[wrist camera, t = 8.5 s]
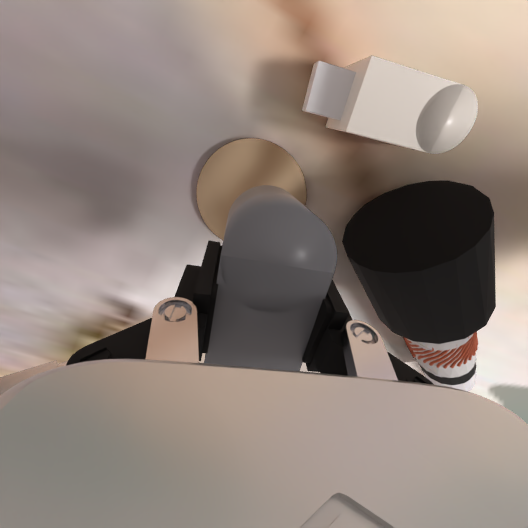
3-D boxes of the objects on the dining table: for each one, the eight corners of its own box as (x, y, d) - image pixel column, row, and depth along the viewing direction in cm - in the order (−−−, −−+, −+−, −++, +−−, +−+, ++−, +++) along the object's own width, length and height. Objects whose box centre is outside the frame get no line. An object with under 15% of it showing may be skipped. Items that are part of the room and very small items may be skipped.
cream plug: (439, 97, 20) (491, 93, 16) (414, 150, 22) (454, 159, 18) (310, 57, 18) (330, 42, 14) (295, 119, 20) (308, 121, 16)
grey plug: (233, 177, 12) (230, 194, 8) (312, 194, 13) (353, 218, 8) (206, 353, 16) (193, 431, 12) (266, 359, 17) (276, 435, 12)
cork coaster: (319, 153, 22) (321, 154, 21) (289, 252, 27) (290, 255, 26) (203, 125, 20) (201, 125, 20) (193, 236, 25) (192, 239, 25)
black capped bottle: (412, 352, 44) (417, 416, 38) (347, 202, 25) (336, 281, 19) (487, 355, 38) (507, 431, 32) (474, 164, 20) (516, 259, 14)
